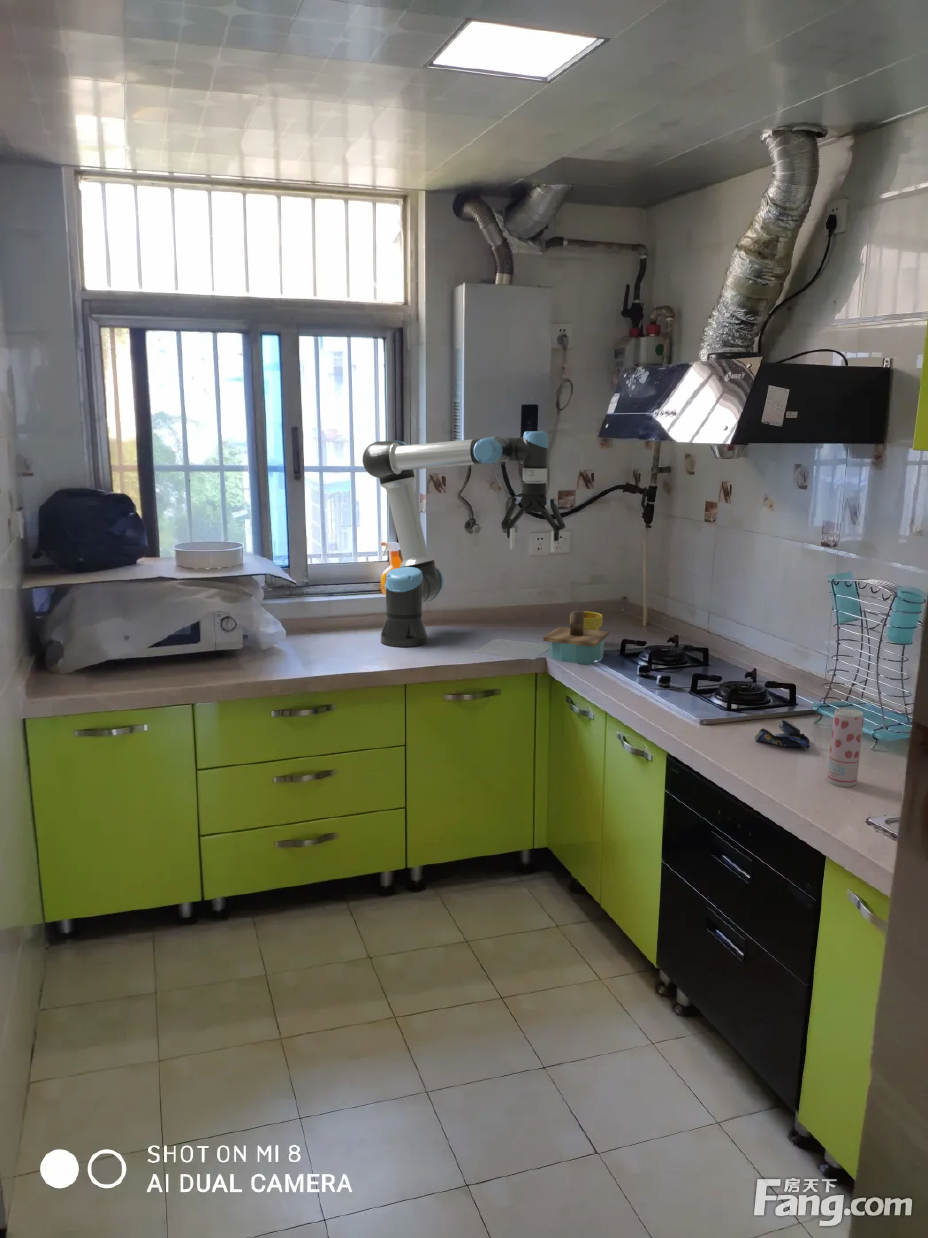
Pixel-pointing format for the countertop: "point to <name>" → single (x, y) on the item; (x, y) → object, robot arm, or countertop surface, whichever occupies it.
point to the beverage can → (845, 747)
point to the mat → (513, 649)
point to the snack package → (784, 736)
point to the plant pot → (592, 620)
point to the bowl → (576, 652)
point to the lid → (576, 633)
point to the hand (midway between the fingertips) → (532, 550)
